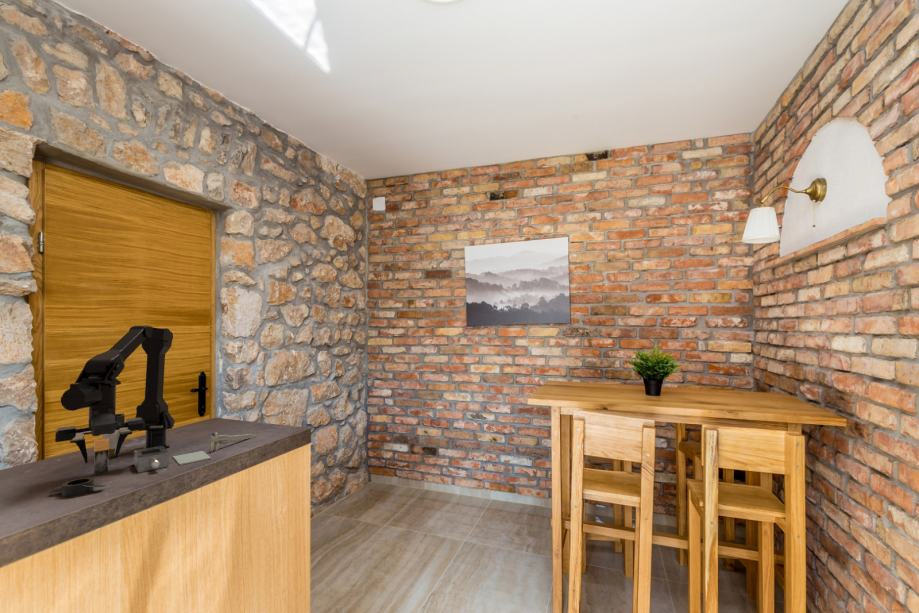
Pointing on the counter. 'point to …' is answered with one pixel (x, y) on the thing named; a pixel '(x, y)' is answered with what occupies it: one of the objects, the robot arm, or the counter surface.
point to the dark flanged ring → (76, 487)
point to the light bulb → (111, 442)
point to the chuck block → (151, 458)
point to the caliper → (225, 439)
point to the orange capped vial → (101, 456)
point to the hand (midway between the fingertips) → (101, 460)
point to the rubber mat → (191, 457)
